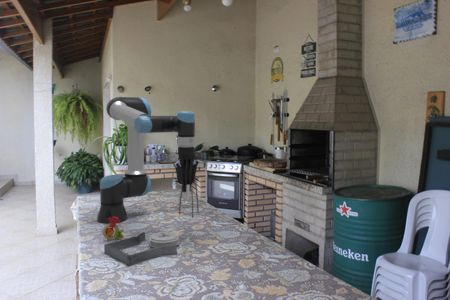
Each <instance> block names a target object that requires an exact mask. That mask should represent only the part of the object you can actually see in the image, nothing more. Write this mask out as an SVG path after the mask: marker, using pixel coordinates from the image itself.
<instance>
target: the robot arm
mask: <svg viewBox="0 0 450 300" xmlns="http://www.w3.org/2000/svg"><path fill="white" fill-rule="evenodd" d="M106 113H107V115H108V116H109V118H111V119H113V120H115V121H122V122H124V124H125V125H126V126H127V170H126V171H125V172H124V175H123V174H120V173H119V174H118V173H117V174H110V175H105V176H104V177H102V178H101V179H100V181H99V195H100V207H99V210H98V213H97V222H98V223H101V224H102V223H103V224H109V223H110V221H109V220H108V218H109V217H114V216H115V217H118V219H119V220H120V222H119V223H122V222H124V221H127V219H128V213H127V210H126V207H125V205H124V199H127V198H128V199H130V198H136V197H138V198H139V197H142V196H145V195H148V194H149V192H150V189H151V187H152V186H151V185H152V181H151V177H150V175H149V174H148V173H147V171H146V170H145V166H144V165H145V155H144V154H145V153H144V152H145V134H151V133H152V134H156V133H157V134H158V133H177V146H178V147H177V156H178V158H177V161H176V162H174V163H172V164H173V167H174V168H175V174H176V178H177V183H178V184H180V185H181V187H182V197H183V199H184V200H190V198H191V197H190V195H191V185H192V186H193V183H194V181H195V180H196V174H197V168H198V166H199V163H200V161H198V160H196V158H195V154H196V148H195V143H196V142H195V138H196V137H195V135H196V134H195V133H196V132H195V131H196V130H195V129H196V128H195V127H196V120H195V117H196V116H195V112H194V111H178V112H177V115H152V107H151V104H150V102H149V100H148V99H146V98H145V97H137V96H136V97H132V96H131V97H130V96H126V97H125V96H117V97H114V98H112V99H110V100H109V101H108V102H107V104H106Z"/></svg>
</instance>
